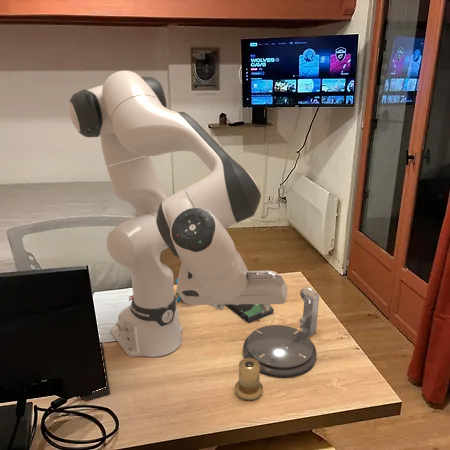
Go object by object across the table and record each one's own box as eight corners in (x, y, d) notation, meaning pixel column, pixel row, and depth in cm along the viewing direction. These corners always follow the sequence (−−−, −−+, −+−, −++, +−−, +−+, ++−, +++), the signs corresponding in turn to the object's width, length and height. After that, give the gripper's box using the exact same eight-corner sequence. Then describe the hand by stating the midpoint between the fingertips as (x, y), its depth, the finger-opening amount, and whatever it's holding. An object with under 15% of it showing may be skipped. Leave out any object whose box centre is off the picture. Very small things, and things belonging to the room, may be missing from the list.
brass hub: (229, 391, 111) (229, 364, 108) (247, 377, 115) (248, 351, 112) (249, 405, 106) (250, 377, 104) (268, 391, 111) (269, 364, 108)
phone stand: (80, 378, 115) (74, 338, 110) (104, 372, 117) (99, 333, 113) (84, 402, 107) (79, 360, 103) (110, 395, 109) (105, 354, 105)
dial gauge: (293, 335, 133) (296, 287, 127) (305, 327, 137) (309, 280, 131) (306, 342, 130) (310, 293, 124) (318, 333, 134) (323, 286, 128)
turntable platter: (233, 347, 124) (233, 343, 124) (274, 321, 136) (274, 317, 136) (285, 379, 112) (285, 374, 112) (325, 348, 124) (326, 343, 124)
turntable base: (228, 352, 125) (228, 348, 124) (274, 324, 138) (274, 319, 137) (285, 389, 112) (286, 383, 111) (330, 353, 125) (330, 348, 124)
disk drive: (220, 304, 150) (248, 325, 138) (220, 297, 149) (249, 317, 137) (245, 295, 155) (274, 314, 144) (245, 288, 154) (274, 306, 143)
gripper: (281, 257, 79) (294, 291, 90) (174, 261, 85) (198, 292, 96) (279, 290, 76) (293, 321, 87) (168, 292, 82) (194, 321, 93)
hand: (242, 306), depth 91 cm, fingers open, 8 cm apart
